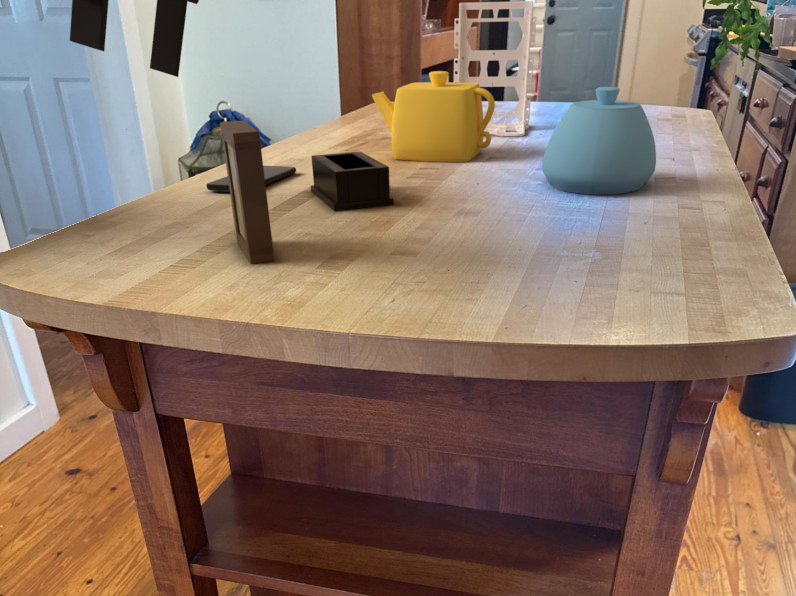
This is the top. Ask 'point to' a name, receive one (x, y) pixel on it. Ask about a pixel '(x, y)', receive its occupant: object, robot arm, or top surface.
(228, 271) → the top surface
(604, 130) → the sugar bowl
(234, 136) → the frame
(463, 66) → the white perforated rack
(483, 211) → the top surface
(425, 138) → the teapot
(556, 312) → the top surface
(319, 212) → the top surface
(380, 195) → the holder
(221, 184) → the smartphone
